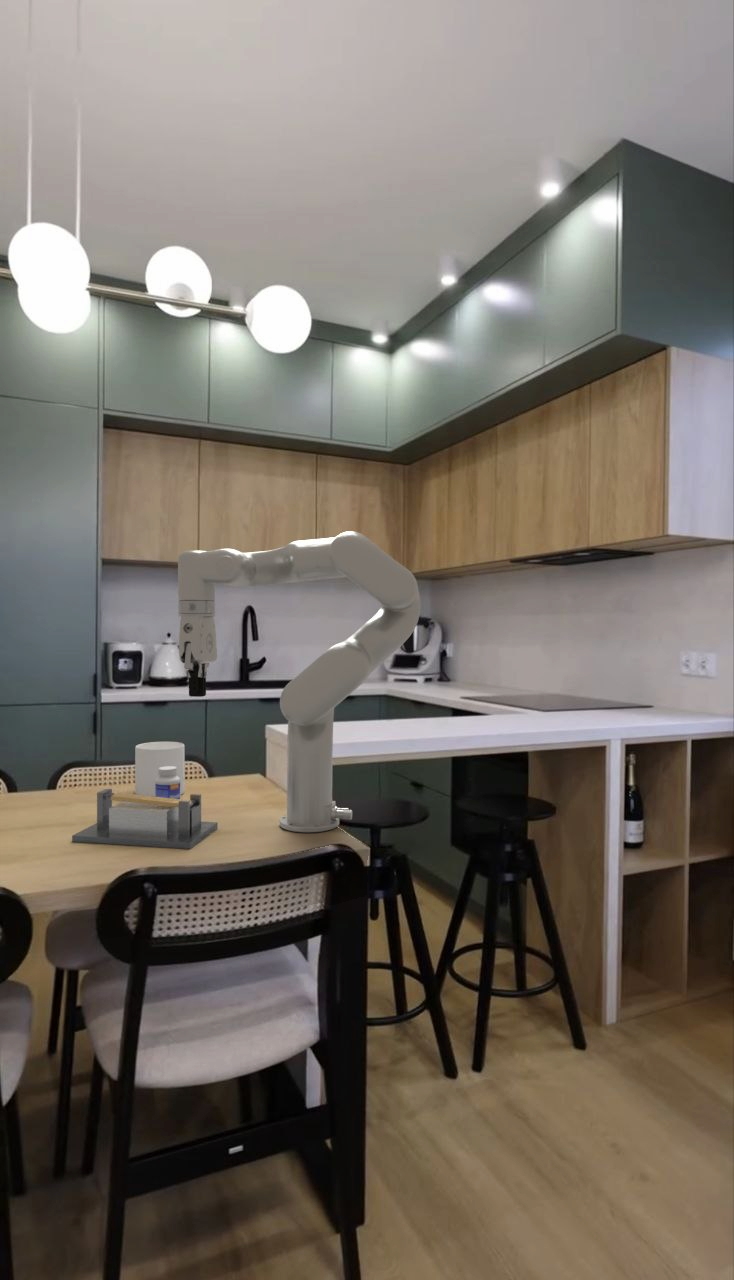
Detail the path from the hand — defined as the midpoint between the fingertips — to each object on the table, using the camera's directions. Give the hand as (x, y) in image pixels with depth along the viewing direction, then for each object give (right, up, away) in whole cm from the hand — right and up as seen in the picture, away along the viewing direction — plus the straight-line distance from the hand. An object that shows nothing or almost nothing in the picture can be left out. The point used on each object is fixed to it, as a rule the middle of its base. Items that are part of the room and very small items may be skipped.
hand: (197, 696), depth 152 cm
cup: (-15, -26, +26) cm, 40 cm away
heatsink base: (-8, -27, -9) cm, 30 cm away
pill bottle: (-9, -27, +9) cm, 30 cm away
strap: (-7, -21, -9) cm, 23 cm away
